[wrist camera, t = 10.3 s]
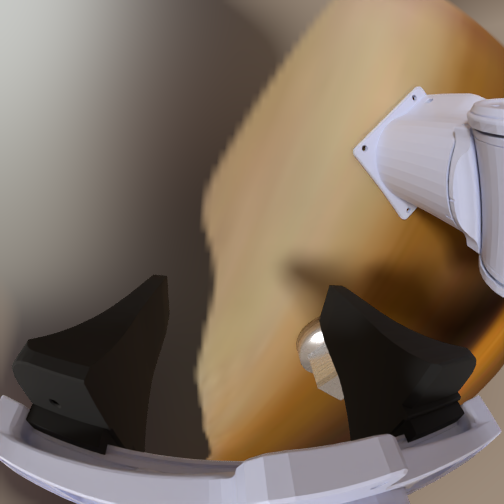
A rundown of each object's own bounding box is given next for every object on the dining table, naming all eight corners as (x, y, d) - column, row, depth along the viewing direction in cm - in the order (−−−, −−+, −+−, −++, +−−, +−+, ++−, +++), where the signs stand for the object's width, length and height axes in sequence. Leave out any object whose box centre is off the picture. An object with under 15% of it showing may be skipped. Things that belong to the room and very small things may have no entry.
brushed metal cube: (359, 347, 25) (374, 377, 21) (329, 369, 26) (340, 400, 22) (340, 330, 23) (356, 362, 20) (307, 354, 24) (318, 388, 21)
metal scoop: (282, 344, 26) (289, 375, 22) (335, 300, 24) (351, 328, 21) (365, 392, 32) (375, 415, 28) (404, 363, 30) (417, 384, 27)
